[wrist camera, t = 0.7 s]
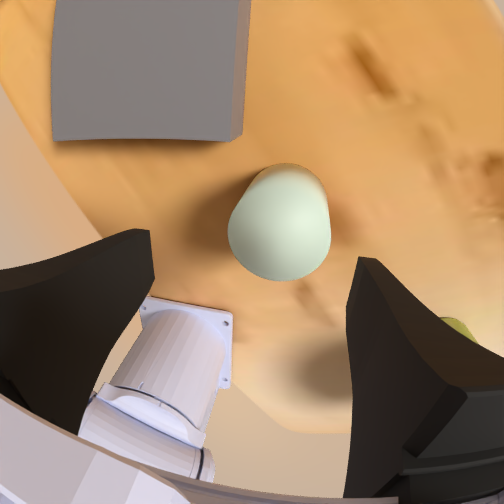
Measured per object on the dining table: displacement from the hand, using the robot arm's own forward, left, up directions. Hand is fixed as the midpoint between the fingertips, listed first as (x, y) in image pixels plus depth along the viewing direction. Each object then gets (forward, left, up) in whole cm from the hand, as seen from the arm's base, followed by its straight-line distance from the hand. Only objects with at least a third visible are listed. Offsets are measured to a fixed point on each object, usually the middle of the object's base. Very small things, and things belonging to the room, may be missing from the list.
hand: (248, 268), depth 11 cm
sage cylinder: (-1, -1, -10) cm, 10 cm away
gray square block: (+9, +8, -10) cm, 16 cm away
